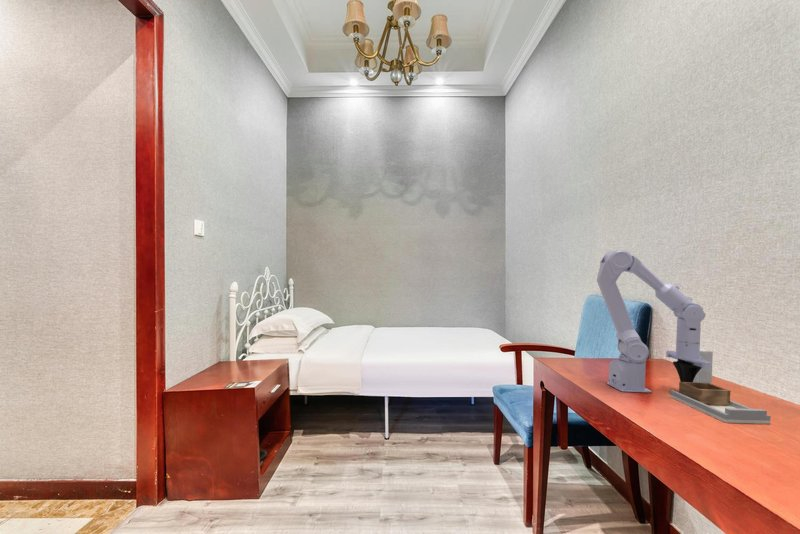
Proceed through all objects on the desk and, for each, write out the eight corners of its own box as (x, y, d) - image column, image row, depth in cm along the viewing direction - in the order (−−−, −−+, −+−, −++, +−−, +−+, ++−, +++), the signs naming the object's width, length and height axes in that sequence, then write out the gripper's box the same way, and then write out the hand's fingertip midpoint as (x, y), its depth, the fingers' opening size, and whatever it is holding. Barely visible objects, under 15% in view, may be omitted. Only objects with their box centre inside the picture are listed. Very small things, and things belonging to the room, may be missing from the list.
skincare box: (712, 388, 120) (713, 351, 120) (698, 387, 120) (700, 351, 120) (697, 382, 126) (698, 347, 126) (684, 381, 126) (686, 346, 126)
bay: (725, 422, 92) (725, 409, 92) (670, 396, 110) (670, 386, 110) (770, 423, 92) (770, 411, 92) (707, 398, 110) (708, 387, 110)
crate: (698, 404, 101) (699, 389, 101) (678, 395, 108) (679, 381, 108) (729, 405, 102) (730, 390, 102) (707, 396, 109) (708, 382, 109)
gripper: (722, 347, 105) (720, 394, 105) (681, 337, 120) (680, 379, 120) (698, 346, 105) (696, 394, 105) (660, 336, 120) (658, 378, 120)
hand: (686, 386), depth 112 cm, fingers closed
